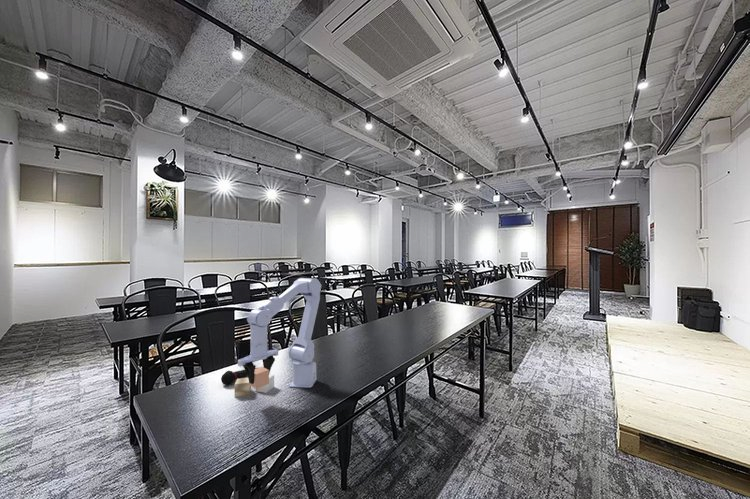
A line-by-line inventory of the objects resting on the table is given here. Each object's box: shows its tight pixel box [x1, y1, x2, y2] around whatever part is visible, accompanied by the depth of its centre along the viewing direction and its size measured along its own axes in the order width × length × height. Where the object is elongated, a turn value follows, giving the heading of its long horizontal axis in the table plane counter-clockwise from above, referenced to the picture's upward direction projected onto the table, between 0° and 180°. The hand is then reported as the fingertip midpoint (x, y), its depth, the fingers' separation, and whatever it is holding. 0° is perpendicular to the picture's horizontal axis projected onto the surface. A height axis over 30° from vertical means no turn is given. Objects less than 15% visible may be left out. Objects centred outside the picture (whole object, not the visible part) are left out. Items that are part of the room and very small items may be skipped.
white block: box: [255, 373, 275, 394], centre depth 115 cm, size 5×5×5 cm
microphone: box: [220, 367, 257, 386], centre depth 126 cm, size 6×6×20 cm
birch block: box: [234, 377, 252, 398], centre depth 111 cm, size 5×5×5 cm
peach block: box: [249, 366, 270, 390], centre depth 104 cm, size 5×5×5 cm
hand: (258, 380), depth 104 cm, fingers closed on peach block, 5 cm apart
